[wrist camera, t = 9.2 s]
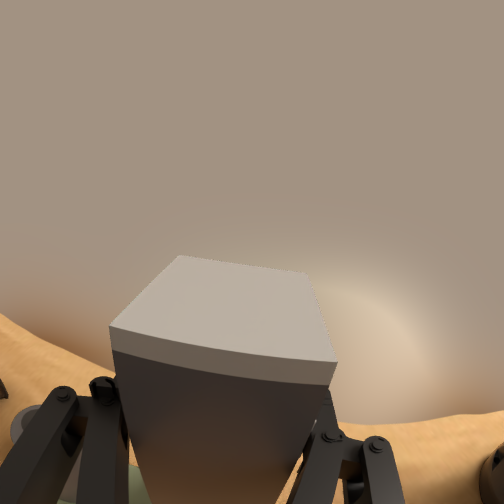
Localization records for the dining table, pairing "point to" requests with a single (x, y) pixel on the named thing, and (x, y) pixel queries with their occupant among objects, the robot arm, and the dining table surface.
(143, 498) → the desk organizer stand
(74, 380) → the dining table surface
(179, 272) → the grey block
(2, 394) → the hand tool
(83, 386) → the dining table surface
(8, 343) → the dining table surface
